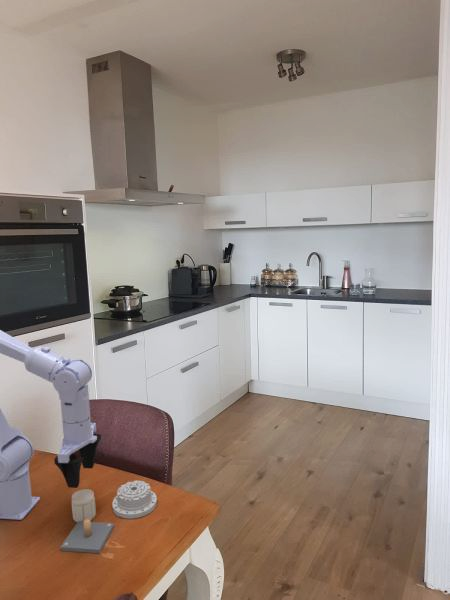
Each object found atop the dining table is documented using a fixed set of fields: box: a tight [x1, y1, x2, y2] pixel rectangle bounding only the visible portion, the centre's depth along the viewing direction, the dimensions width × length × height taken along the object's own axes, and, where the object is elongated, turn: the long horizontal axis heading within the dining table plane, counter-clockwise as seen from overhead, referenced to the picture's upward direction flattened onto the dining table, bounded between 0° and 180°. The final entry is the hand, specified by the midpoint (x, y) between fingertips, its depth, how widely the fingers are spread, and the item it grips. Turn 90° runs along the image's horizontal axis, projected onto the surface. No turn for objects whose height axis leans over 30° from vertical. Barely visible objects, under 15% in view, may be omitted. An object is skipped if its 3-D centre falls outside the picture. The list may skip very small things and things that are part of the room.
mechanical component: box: [111, 479, 158, 520], centre depth 105 cm, size 10×4×10 cm
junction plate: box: [60, 518, 115, 554], centre depth 95 cm, size 8×8×4 cm
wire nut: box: [71, 488, 97, 523], centre depth 102 cm, size 5×5×5 cm
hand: (81, 476), depth 101 cm, fingers open, 7 cm apart
